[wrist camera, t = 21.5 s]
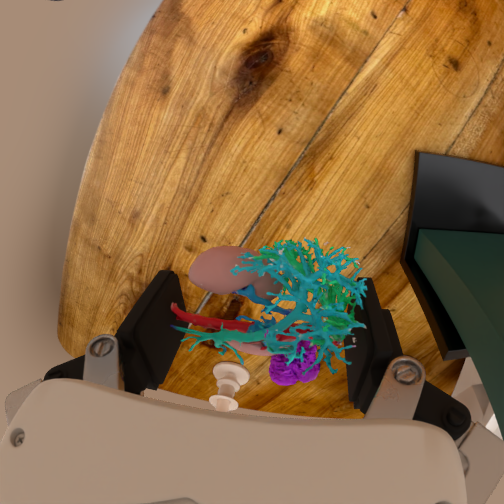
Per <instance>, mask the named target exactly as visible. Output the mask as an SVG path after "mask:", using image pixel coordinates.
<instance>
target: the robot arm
mask: <svg viewBox="0 0 504 504" xmlns="http://www.w3.org/2000/svg"><path fill="white" fill-rule="evenodd" d="M363 279H364V277H358V278H357V281H355V282H359V280H360V281H361V280H363ZM366 279H367V280H364V283H365V284H364V286H367V290H366V289H365V290H363V291H364V293H365V295H366V297H364V296H363V295H362V294H361V293H360V296H361V297H360V298H361V300H362V306H363V309H361V307H360V305H357V304H356V306H355V307H354V313H355V314H354V318H355V319H354V320H355V321H358V322H359V323H361V324H364V325H365V326H366V328H363V327H353V328H352V329H351V331H350V332H351V334H354V335H351V334H347V336H346V335H345V336H346V337H345V339H344V347H346V346H349V345H353V346H354V345H356V347H352V348H349V349H345V358H346V361H347V362H351V364H350V365H348V364H346V368H347V380H348V393H349V401H350V402H351V401H354V409H360V411H361V412H363V413H364V414H365V416H364V418H363V419H294V418H277V417H263V416H252V415H243V414H235V413H227V412H220V411H214V410H207V409H201V408H195V407H190V406H185V405H179V404H175V403H170V402H164V401H161V400H156V399H152V398H148V397H144V392H143V391H144V390H145V389H146V388H148V389H152V390H157V388H158V386H159V384H162V383H163V382H164V380H165V378H166V375H167V373H168V371H169V369H170V366H171V364H172V362H173V360H174V357H175V355H176V353H177V351H178V349H179V346H180V344H181V342H182V341H181V340H182V339H183V338H184V335H185V333H186V332H182V331H179V330H176V329H174V328H173V327H170V325H174V326H177V327H182V328H187V329H188V325H189V322H186V321H181V320H177V319H176V317H177V315H176V314H175V313H174V312H173V311H172V310H171V305H172V303H174V304H175V303H176V304H177V306H178V308H179V309H180V310H181V311H184V312H186V308H185V304H184V300H183V296H182V291H181V287H180V283H179V278H178V275H177V274H174V272H173V271H168V270H160V271H159V272H158V273H157V275H156V276H155V277H154V279H153V280H152V282H151V283H150V284H149V286H148V287H147V288H146V290H145V291H144V293H143V294H142V295H141V297H140V298H139V300H138V301H137V302H136V304H135V305H134V307H133V308H132V310H131V311H130V312H129V314H128V315H127V317H126V318H125V320H124V321H123V322H122V324H121V325H120V327H119V328H118V330H117V333H116V334H115V336H113V335H110V334H102V335H99V336H97V337H95V338H93V339H92V340H91V341H90V342H89V344H88V345H87V348H86V354H85V355H83V356H80V357H78V358H75V359H73V360H70V361H68V362H66V363H63V364H61V365H58V366H56V367H53V368H51V369H50V370H49V371H48V372H47V373H46V375H45V377H44V381H42V380H41V379H39V380H37V381H34V382H32V383H30V384H28V385H26V386H24V387H22V388H20V389H17V390H15V391H13V392H12V393H10V394H9V395H8V396H7V398H6V401H5V409H6V416H7V422H8V428H7V430H6V432H5V434H4V436H3V438H2V440H1V441H0V504H485V503H486V501H487V499H488V498H489V496H490V495H491V493H492V492H493V490H494V489H495V487H496V486H497V484H498V482H499V481H500V479H501V477H502V475H503V473H504V441H503V440H502V439H500V438H499V437H498V436H496V435H495V434H494V433H492V432H491V431H490V430H488V429H487V428H486V427H485V426H483V425H482V424H481V423H479V422H478V421H477V422H476V423H474V422H473V421H471V414H470V411H469V410H468V408H467V407H466V406H465V405H464V404H462V403H461V402H459V401H458V400H456V399H454V398H453V397H451V396H450V395H448V394H446V393H445V392H443V391H442V390H440V389H438V388H437V387H435V386H434V385H432V384H430V383H429V382H427V381H426V380H425V377H426V372H425V368H424V366H423V365H422V363H420V362H419V361H418V360H417V359H414V358H412V357H408V356H403V353H402V349H401V345H400V342H399V339H398V335H397V332H396V329H395V325H394V322H393V319H392V316H391V313H390V311H389V310H388V309H381V306H380V303H379V299H378V296H377V293H376V290H375V287H374V284H373V281H372V278H366ZM361 284H362V282H361ZM354 294H355V293H353V295H354ZM353 295H352V296H353ZM352 296H351V293H350V297H352ZM355 301H356V299H351V301H350V302H351V303H354V302H355ZM352 309H353V305H352V306H351V305H350V304H348V310H347V313H348V315H349V314H351V312H350V311H351V310H352ZM186 313H187V312H186ZM347 327H348V325H347ZM185 331H187V330H185ZM352 338H356V339H355V340H354V341H355V343H354V342H353V339H352ZM356 340H357V341H356Z"/></svg>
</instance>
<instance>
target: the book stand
mask: <svg viewBox="0 0 504 504" xmlns="http://www.w3.org/2000/svg"><path fill="white" fill-rule="evenodd" d="M419 229H428V230H446V231H462V232H477V233H491V234H504V166H500V165H496V164H492V163H487V162H483V161H478V160H473V159H468V158H463V157H457V156H452V155H446V154H439V153H433V152H426V151H418V150H416V151H415V163H414V174H413V184H412V192H411V200H410V207H409V214H408V221H407V227H406V233H405V238H404V244H403V249H402V254H401V259H400V264H401V266H402V268H403V270H404V272H405V274H406V276H407V278H408V280H409V282H410V284H411V286H412V288H413V290H414V292H415V294H416V297H417V299H418V301H419V303H420V305H421V307H422V310H423V312H424V314H425V316H426V319H427V321H428V323H429V326H430V328H431V331H432V333H433V335H434V338H435V340H436V343H437V345H438V348H439V351H440V353H441V356H442V359H443V361H446V360H453V359H460V358H467V357H470V355H469V353H468V351H467V349H466V347H465V345H464V343H463V341H462V339H461V337H460V335H459V333H458V331H457V329H456V327H455V325H454V323H453V322H452V320H451V318H450V316H449V314H448V312H447V311H446V309H445V307H444V305H443V304H442V302H441V300H440V299H439V297H438V295H437V294H436V292H435V290H434V289H433V287H432V285H431V284H430V282H429V280H428V279H427V277H426V276H425V274H424V273H423V271H422V269H421V268H420V266H419V265H418V263H417V262H416V260H415V259H414V255H415V250H416V245H417V240H418V234H419Z"/></svg>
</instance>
